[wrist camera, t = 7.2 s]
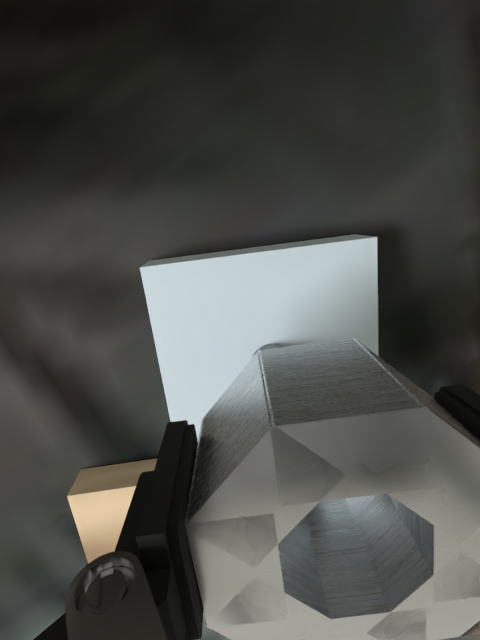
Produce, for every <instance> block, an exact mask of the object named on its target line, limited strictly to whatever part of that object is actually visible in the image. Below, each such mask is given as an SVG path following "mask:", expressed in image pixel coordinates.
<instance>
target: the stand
mask: <svg viewBox="0 0 480 640" xmlns="http://www.w3.org/2000/svg"><path fill="white" fill-rule="evenodd" d="M157 459H158V458H156V459H149V460H143V461H136V462H129V463H122V464H115V465H108V466H101V467H94V468H87V469H81V471H80V473H79V475H78V477H77V479H76V480H75V482H74V484H73V486H72V488H71V490H70V492H69V493H68V495H67V497H68V501H69V504H70V507H71V510H72V513H73V516H74V520H75V523H76V526H77V529H78V532H79V535H80V538H81V542H82V545H83V548H84V551H85V554H86V557H87V561H88V564H89V563H90V562H92V561H93V560H95V559H96V558H98V557H99V556H102V555H104V554H107V553H110V552H114V551H115V548H116V545H117V542H118V539H119V536H120V533H121V530H122V527H123V524H124V521H125V518H126V515H127V512H128V509H129V506H130V503H131V500H132V497H133V494H134V491H135V488H136V485H137V482H138V479H139V477H140V474H141V473H142V472H146V471H153V470H154V469H155V466H156V462H157Z"/></svg>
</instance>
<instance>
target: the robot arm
mask: <svg viewBox="0 0 480 640" xmlns="http://www.w3.org/2000/svg"><path fill="white" fill-rule="evenodd" d="M434 400H435V401H436V402H438V403H439V404H440V405H441V406H442V407H443V408H444V409H445V410H447V411H448V412H449V413H450V414H451V415H452V416H453V417H454V418H456V419H457V420H458V421H459V422H460V423H461V424H462V425H463V426H464V427H466V428H467V429H468V430H469V431H470V432H471V433H472V434H473V435H475V436H476V437H477V438H478V439H479V440H480V395H479V394H477V393H476V392H474V391H473V390H471V389H470V388H468V387H467V386H465V385H463V384H458V385H450V386H443V387H441V388H440V390H439V392H437V393H435V396H434ZM197 445H198V440H197V435H196V429H195V425H194V424H190V425H188V422H187V420H183V421H175V422H168V424H167V427H166V430H165V434H164V437H163V441H162V444H161V448H160V451H159V455H158V459H157V462H156V466H155V469H154V470H153V471H146V472H142V473H141V474H140V477H139V479H138V482H137V485H136V488H135V491H134V494H133V497H132V500H131V503H130V506H129V509H128V512H127V515H126V518H125V521H124V524H123V527H122V530H121V533H120V536H119V539H118V542H117V545H116V548H115V551H114V552H110V553H107V554H104V555H102V556H99V557H98V558H96V559H95V560H93V561H92V562H90V563H89V564H87V565H86V566H85V567H84V568H83V569H82V570H81V571H80V572H79V573H78V574H77V576H76V577H75V579H74V580H73V581H72V583H71V584H70V587H69V589H68V592H67V594H66V600H65V614H63V615H62V616H61V617H60V618H59V619H57V620H56V621H55V622H54V623H53V624H51V625H50V626H49V627H48V628H47V629H46V630H44V631H43V632H42V633H41V634H40V635H38V636H37V637H36V638H35V639H34V640H196V639H201V636H202V622H203V605H202V600H201V596H200V591H199V587H198V582H197V578H196V573H195V569H194V564H193V560H192V555H191V551H190V546H189V542H188V537H187V533H186V529H185V519H186V513H187V507H188V499H189V493H190V487H191V481H192V475H193V469H194V463H195V457H196V451H197ZM440 640H480V634H476V635H469V636H461V637H454V638H447V639H440Z"/></svg>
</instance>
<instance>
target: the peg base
mask: <svg viewBox="0 0 480 640" xmlns="http://www.w3.org/2000/svg"><path fill="white" fill-rule="evenodd" d="M140 271H141V276H142V281H143V286H144V291H145V296H146V301H147V306H148V311H149V316H150V321H151V326H152V331H153V336H154V341H155V346H156V351H157V356H158V361H159V366H160V371H161V376H162V381H163V386H164V391H165V396H166V401H167V406H168V411H169V416H170V421H171V422H175V421H183V420H187V422H188V425H190V424H194V425H195V429H196V435H197V440H198V439H199V433H200V427H201V421H202V418H203V417H204V416H205V415H206V414H207V413H208V412H209V410H210V409H211V408H212V407H213V405H214V404H215V403H216V402H217V401H218V399H219V398H220V397H221V396H222V394H223V393H224V392H225V391H226V390H227V388H228V387H229V386H230V385H231V383H232V382H233V381H234V380H235V379H236V377H237V376H238V375H239V374H240V372H241V371H242V370H243V369H244V367H245V366H246V365H247V364H248V363H249V361H250V360H251V359H252V358H253V356H254V355H255V354H256V353H257V351H258V350H266V349H273V348H281V347H288V346H296V345H303V344H310V343H318V342H325V341H333V340H340V339H348V338H353V337H354V338H355V337H356V338H357V339H358V340H359V341H360V342H361V343H362V344H363V345H364V346H366V347H367V348H368V349H370V350H371V351H372V352H374V353H375V354H376V355H377V356H378V258H377V237H373V236H365V235H356V234H354V235H346V236H338V237H331V238H323V239H315V240H307V241H299V242H291V243H284V244H276V245H268V246H260V247H252V248H244V249H237V250H229V251H221V252H213V253H205V254H198V255H190V256H182V257H174V258H166V259H158V260H151V261H149V262H147V263H146V264H144V265H143V266H141V267H140Z"/></svg>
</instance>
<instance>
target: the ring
mask: <svg viewBox="0 0 480 640" xmlns="http://www.w3.org/2000/svg"><path fill="white" fill-rule="evenodd" d="M185 529H186V533H187V537H188V542H189V546H190V551H191V555H192V560H193V564H194V569H195V573H196V578H197V582H198V587H199V591H200V596H201V600H202V605H203V609H204V614H205V618H206V626H207V627H208V628H210V629H212V630H214V631H216V632H218V633H220V634H222V635H224V636H226V637H227V638H229V639H231V640H440V639H447V638H454V637H460V636H461V635H462V634H463V633H465V632H466V631H467V630H468V629H470V628H471V627H472V626H473V625H475V624H476V623H477V622H478V621H480V440H479V439H478V438H477V437H476V436H475V435H473V434H472V433H471V432H470V431H469V430H468V429H467V428H466V427H464V426H463V425H462V424H461V423H460V422H459V421H458V420H457V419H456V418H454V417H453V416H452V415H451V414H450V413H449V412H448V411H447V410H445V409H444V408H443V407H442V406H441V405H440V404H439V403H438V402H436V401H435V400H434V399H433V398H432V397H431V396H430V395H429V394H428V393H426V392H425V391H424V390H423V389H420V388H419V387H418V386H416V385H415V384H414V383H412V382H411V381H410V380H409V379H407V378H406V377H405V376H403V375H402V374H401V373H399V372H398V371H397V370H396V369H394V368H393V367H392V366H390V365H389V364H388V363H387V362H385V361H384V360H383V359H381V358H380V357H379V356H377V355H376V354H375V353H374V352H372V351H371V350H370V349H368V348H367V347H366V346H364V345H363V344H362V343H361V342H360V341H359V340H358V339H357V338H356V337H355V338H354V337H353V338H348V339H340V340H333V341H325V342H318V343H310V344H303V345H296V346H288V347H281V348H273V349H266V350H258V351H257V353H256V354H255V355H254V356H253V358H252V359H251V360H250V361H249V363H248V364H247V365H246V366H245V367H244V369H243V370H242V371H241V372H240V374H239V375H238V376H237V377H236V379H235V380H234V381H233V382H232V383H231V385H230V386H229V387H228V388H227V390H226V391H225V392H224V393H223V394H222V396H221V397H220V398H219V399H218V401H217V402H216V403H215V404H214V405H213V407H212V408H211V409H210V410H209V412H208V413H207V414H206V415H205V416H204V417H203V418H202V421H201V427H200V433H199V439H198V445H197V451H196V457H195V463H194V469H193V475H192V481H191V487H190V493H189V499H188V507H187V513H186V519H185Z"/></svg>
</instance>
